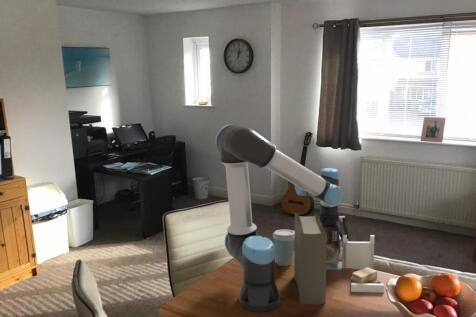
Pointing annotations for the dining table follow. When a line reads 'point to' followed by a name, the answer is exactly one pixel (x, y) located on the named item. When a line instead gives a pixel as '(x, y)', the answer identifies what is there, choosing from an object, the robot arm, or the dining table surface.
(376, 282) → the offcut lower
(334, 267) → the mat
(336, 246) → the coffee box
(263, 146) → the robot arm
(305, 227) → the book
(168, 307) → the dining table surface
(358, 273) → the offcut upper
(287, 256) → the disposable coffee cup
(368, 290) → the rack
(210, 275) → the dining table surface
